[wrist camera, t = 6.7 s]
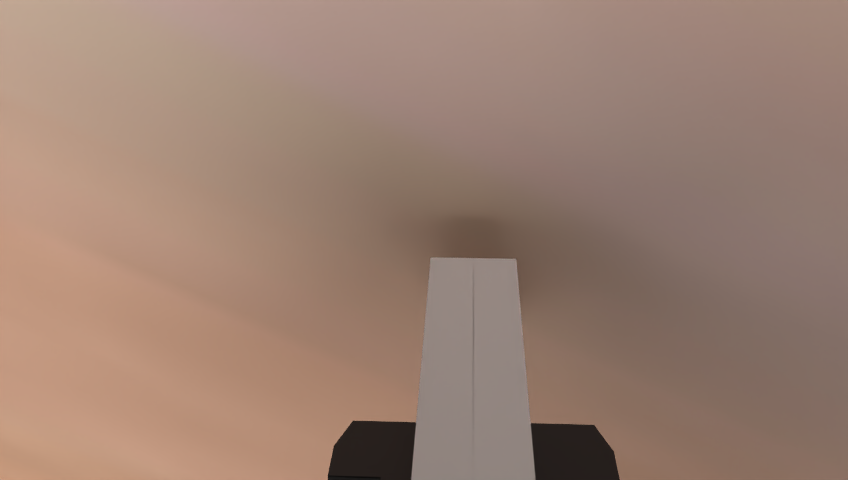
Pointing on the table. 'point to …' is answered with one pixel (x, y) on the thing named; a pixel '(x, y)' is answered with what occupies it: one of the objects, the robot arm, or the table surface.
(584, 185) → the table surface
